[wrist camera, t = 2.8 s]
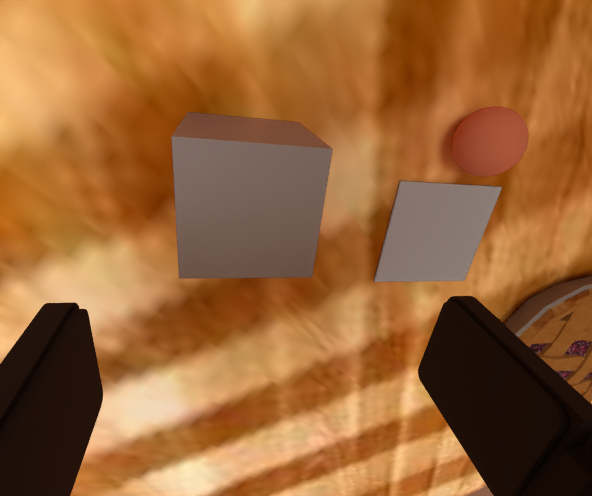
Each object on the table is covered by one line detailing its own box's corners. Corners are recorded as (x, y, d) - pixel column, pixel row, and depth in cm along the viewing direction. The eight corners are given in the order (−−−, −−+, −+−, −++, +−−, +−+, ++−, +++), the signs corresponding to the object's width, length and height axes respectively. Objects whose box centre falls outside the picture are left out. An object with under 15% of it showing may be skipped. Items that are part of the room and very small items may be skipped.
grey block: (298, 122, 25) (332, 148, 17) (287, 219, 28) (312, 277, 21) (188, 111, 23) (171, 136, 16) (191, 216, 27) (179, 278, 19)
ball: (505, 106, 27) (558, 114, 23) (482, 168, 30) (527, 186, 25) (450, 99, 26) (495, 107, 22) (431, 164, 28) (469, 183, 24)
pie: (668, 257, 40) (722, 280, 36) (586, 385, 51) (620, 415, 46) (509, 268, 36) (547, 296, 32) (454, 405, 46) (478, 440, 42)
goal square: (500, 186, 31) (502, 187, 31) (463, 279, 35) (464, 280, 35) (399, 180, 29) (400, 181, 28) (373, 280, 33) (374, 281, 33)
